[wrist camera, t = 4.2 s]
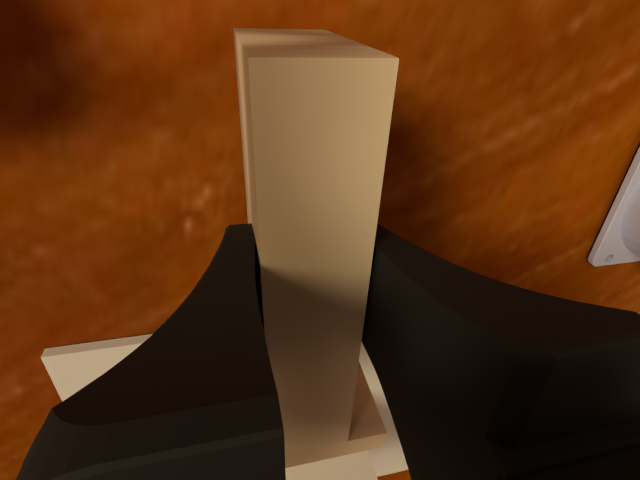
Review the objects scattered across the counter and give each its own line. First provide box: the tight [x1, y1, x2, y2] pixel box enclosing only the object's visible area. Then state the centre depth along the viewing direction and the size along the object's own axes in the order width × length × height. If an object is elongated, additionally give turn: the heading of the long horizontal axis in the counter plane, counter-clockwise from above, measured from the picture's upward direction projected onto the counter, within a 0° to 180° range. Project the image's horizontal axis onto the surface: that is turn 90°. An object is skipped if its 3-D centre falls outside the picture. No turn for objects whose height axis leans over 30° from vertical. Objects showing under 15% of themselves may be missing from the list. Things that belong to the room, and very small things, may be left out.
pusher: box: [233, 28, 399, 468], centre depth 11 cm, size 5×12×5 cm, turn 179°
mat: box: [41, 334, 408, 477], centre depth 23 cm, size 22×16×1 cm
